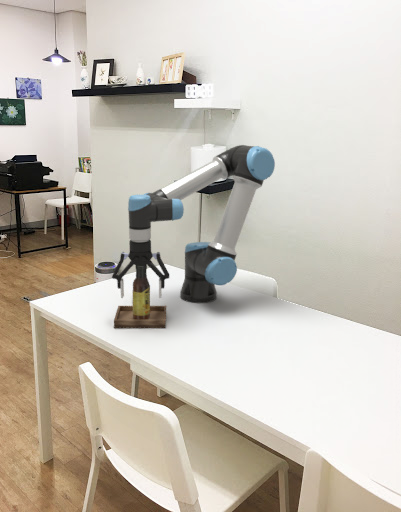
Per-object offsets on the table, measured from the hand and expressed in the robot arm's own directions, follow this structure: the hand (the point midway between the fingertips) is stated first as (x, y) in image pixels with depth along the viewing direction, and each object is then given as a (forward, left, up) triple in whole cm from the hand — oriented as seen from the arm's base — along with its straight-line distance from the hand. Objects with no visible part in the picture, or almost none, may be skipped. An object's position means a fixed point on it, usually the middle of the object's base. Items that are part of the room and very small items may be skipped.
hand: (141, 296), depth 176 cm
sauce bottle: (0, 0, -8) cm, 8 cm away
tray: (0, 0, -9) cm, 9 cm away
